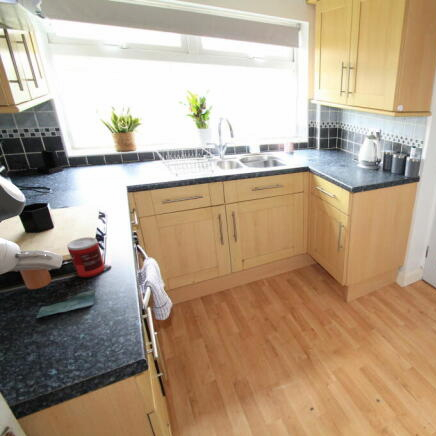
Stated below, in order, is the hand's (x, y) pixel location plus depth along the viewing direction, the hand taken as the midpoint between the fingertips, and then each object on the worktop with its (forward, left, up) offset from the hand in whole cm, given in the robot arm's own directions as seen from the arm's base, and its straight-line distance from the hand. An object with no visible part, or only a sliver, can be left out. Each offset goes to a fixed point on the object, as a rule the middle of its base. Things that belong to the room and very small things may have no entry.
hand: (35, 268), depth 91 cm
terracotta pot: (0, -1, -5) cm, 5 cm away
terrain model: (+10, -8, -9) cm, 16 cm away
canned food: (+7, +11, -9) cm, 16 cm away
